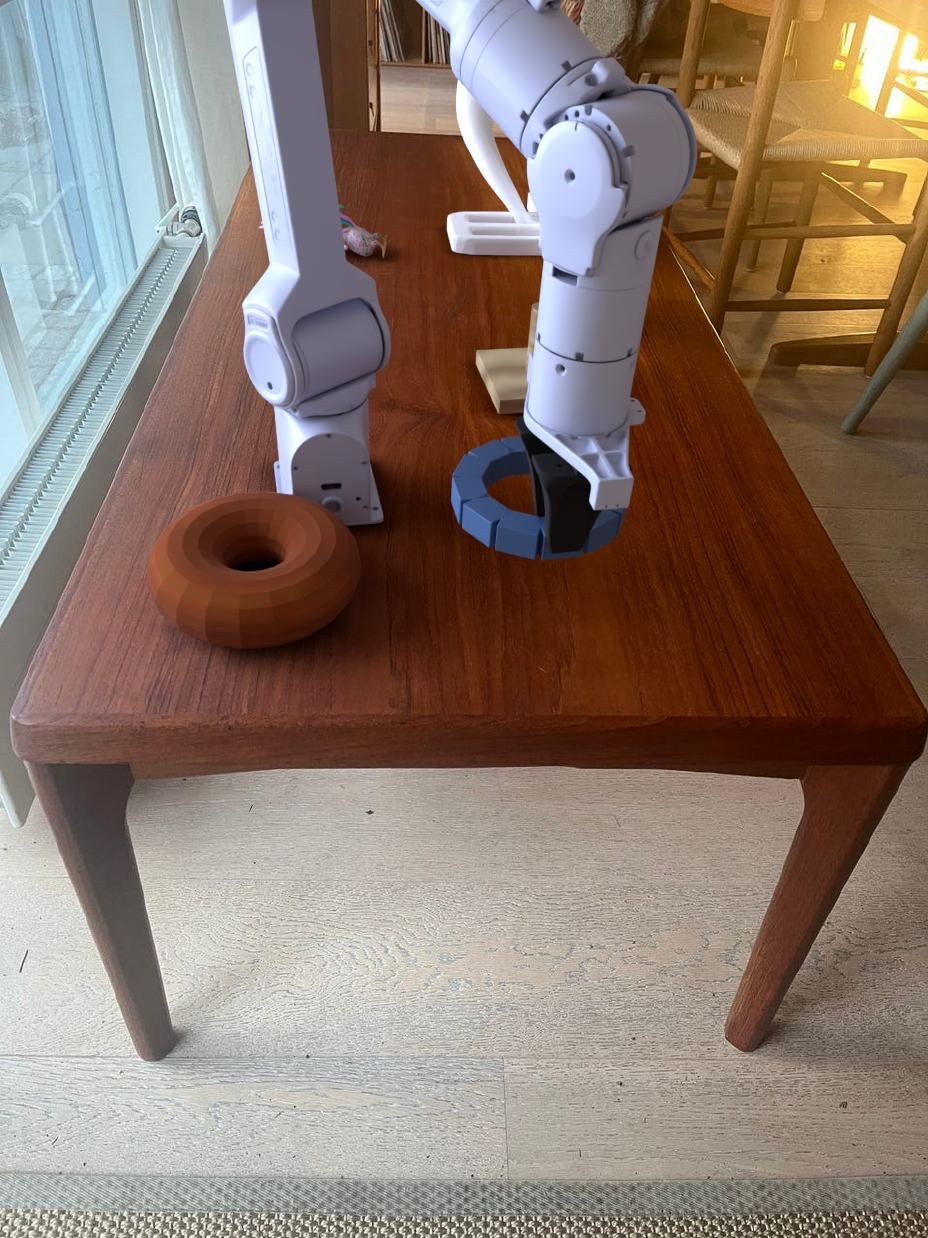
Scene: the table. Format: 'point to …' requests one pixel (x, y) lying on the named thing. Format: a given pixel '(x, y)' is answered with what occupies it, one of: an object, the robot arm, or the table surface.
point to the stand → (508, 372)
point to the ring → (504, 524)
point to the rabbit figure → (358, 237)
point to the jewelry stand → (494, 228)
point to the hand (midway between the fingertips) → (558, 536)
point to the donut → (257, 600)
